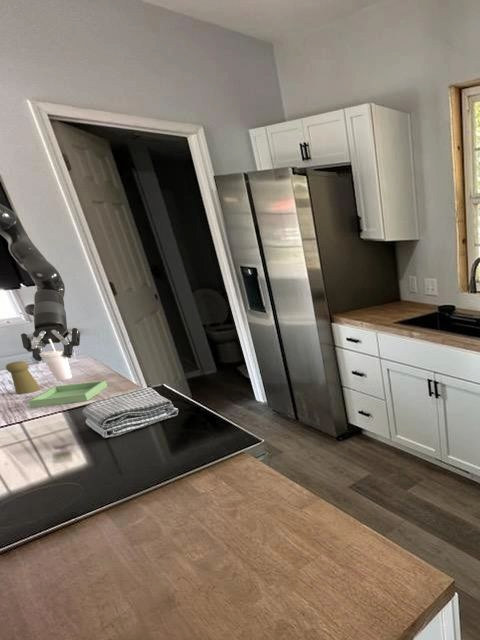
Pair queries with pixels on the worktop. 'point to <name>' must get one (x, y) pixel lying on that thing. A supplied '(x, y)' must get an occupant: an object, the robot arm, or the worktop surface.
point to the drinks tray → (68, 394)
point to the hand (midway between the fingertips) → (53, 358)
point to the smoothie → (57, 362)
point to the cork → (22, 378)
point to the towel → (128, 412)
